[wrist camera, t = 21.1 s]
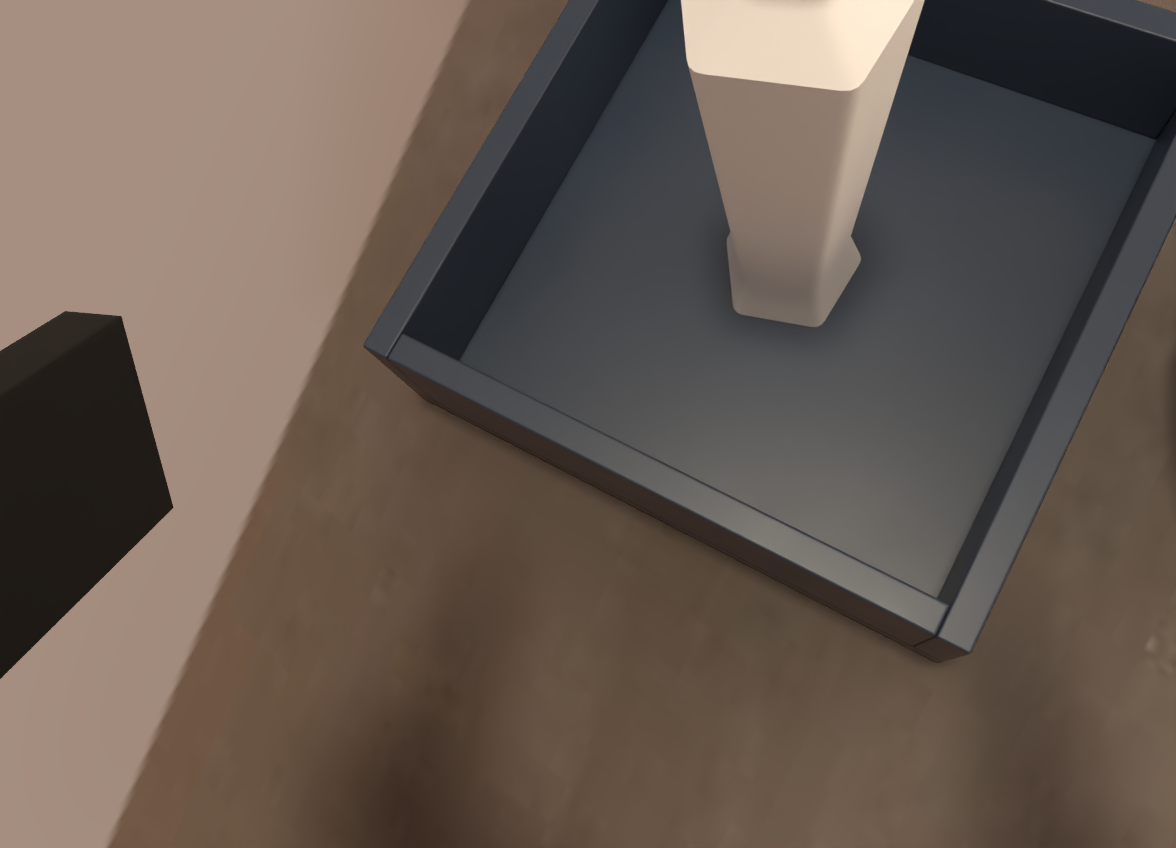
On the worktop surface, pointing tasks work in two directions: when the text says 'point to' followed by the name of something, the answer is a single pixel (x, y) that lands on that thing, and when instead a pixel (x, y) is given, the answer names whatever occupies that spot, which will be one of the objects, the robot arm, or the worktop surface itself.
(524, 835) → the worktop surface
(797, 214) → the perfume bottle
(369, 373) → the worktop surface
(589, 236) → the bin
